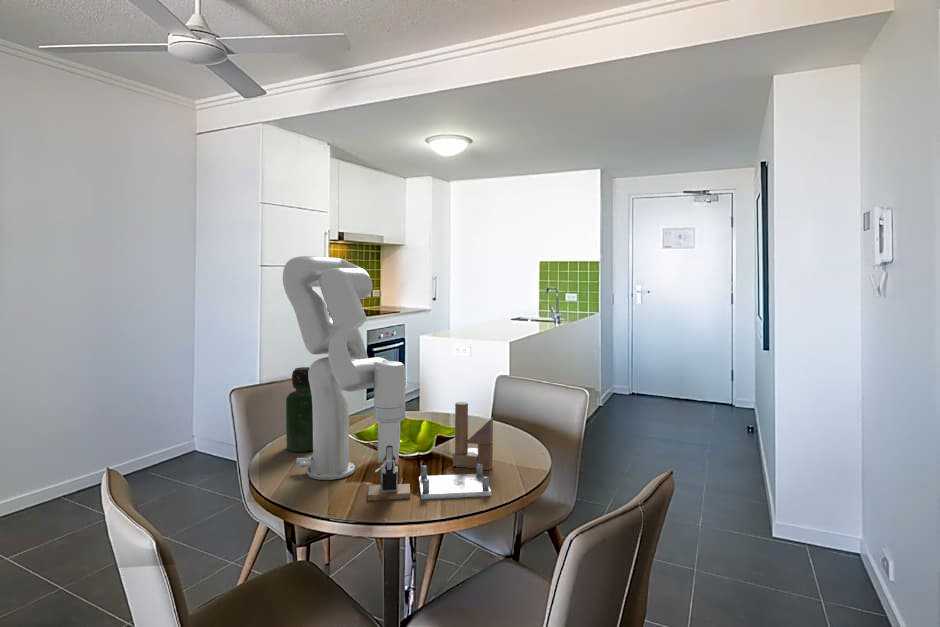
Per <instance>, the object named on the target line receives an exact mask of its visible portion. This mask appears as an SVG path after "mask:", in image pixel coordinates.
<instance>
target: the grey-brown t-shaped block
mask: <svg viewBox="0 0 940 627" xmlns="http://www.w3.org/2000/svg"><path fill="white" fill-rule="evenodd" d="M380 468H381V469H380V484H377V485H376V484H375V485H369V486H368V492H367V501H379V500H378V499H385V500H399V499H401V500H402V499H403V498H406V499H411V484H410V483H399V482H398V481H399V478H398V476H399V470H398V469H399V467H398V465H396V466H395V472H396V489H395V490H383V473H384V466H381V467H380ZM398 483H399V484H398ZM375 499H377V500H375Z"/></svg>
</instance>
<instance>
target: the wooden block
mask: <svg viewBox="0 0 940 627" xmlns="http://www.w3.org/2000/svg"><path fill="white" fill-rule="evenodd" d="M454 406H455V407H454V408H455V409H454V410H455V414H454V418H455V419H454V430H455V431H454V453H453V454H452V466H453V467H454V466H456V468H457V467H458V468H464V467H465V469H466V468H467V469H473V468H474V469H475V470H476V468H477V463H482V464H483V471H491V468H493V458H494V457H493V449H494V448H493V444H494V443H493V441H494V439H493V438H494V437H493V436H494V417H491V418H490V419H489V420H488V421H487V422H485V423H484V424H483V425H482V426H481V427H480V428H479V429H478V430H477V431H476V432H475V433H474V434H473V435H471V437H469V431H468V430H469V424H468V423H469V403H468V402H465V401H458V402H455V404H454ZM468 444H473V445H474V444H475V445H477V448H478V454H476V453H474V452H468V448H469V445H468Z"/></svg>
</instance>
